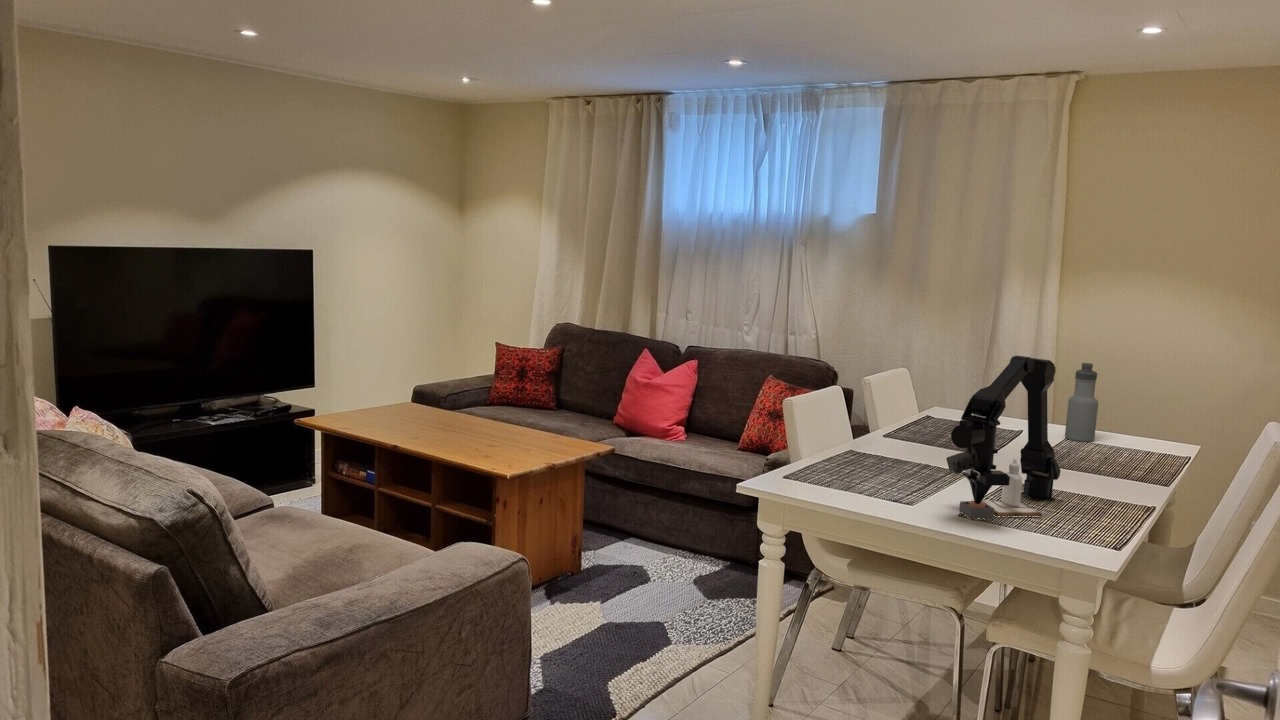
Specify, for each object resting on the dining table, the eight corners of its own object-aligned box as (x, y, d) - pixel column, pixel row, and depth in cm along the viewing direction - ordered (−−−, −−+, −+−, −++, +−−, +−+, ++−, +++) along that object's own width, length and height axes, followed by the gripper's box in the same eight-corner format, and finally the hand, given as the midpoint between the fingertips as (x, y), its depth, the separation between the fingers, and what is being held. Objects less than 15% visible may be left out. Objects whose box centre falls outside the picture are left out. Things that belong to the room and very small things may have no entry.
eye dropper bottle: (1001, 505, 239) (1006, 461, 237) (1000, 499, 244) (1005, 456, 242) (1019, 508, 237) (1024, 463, 236) (1018, 501, 243) (1023, 458, 241)
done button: (979, 508, 236) (980, 501, 235) (987, 513, 232) (988, 505, 231) (965, 508, 235) (965, 501, 235) (972, 513, 231) (973, 505, 231)
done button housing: (980, 512, 237) (982, 501, 236) (992, 519, 231) (994, 508, 231) (959, 512, 236) (960, 501, 236) (970, 519, 230) (971, 508, 230)
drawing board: (1017, 505, 245) (1018, 499, 245) (1041, 517, 234) (1041, 512, 234) (975, 505, 244) (976, 499, 243) (997, 517, 233) (997, 512, 233)
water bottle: (1064, 435, 341) (1072, 360, 337) (1094, 438, 337) (1102, 363, 333) (1064, 440, 332) (1072, 363, 328) (1094, 443, 328) (1102, 366, 324)
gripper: (935, 435, 239) (930, 493, 241) (970, 452, 221) (965, 514, 223) (975, 435, 241) (970, 493, 243) (1013, 452, 222) (1007, 514, 224)
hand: (977, 503), depth 233 cm, fingers closed, pressing on done button
